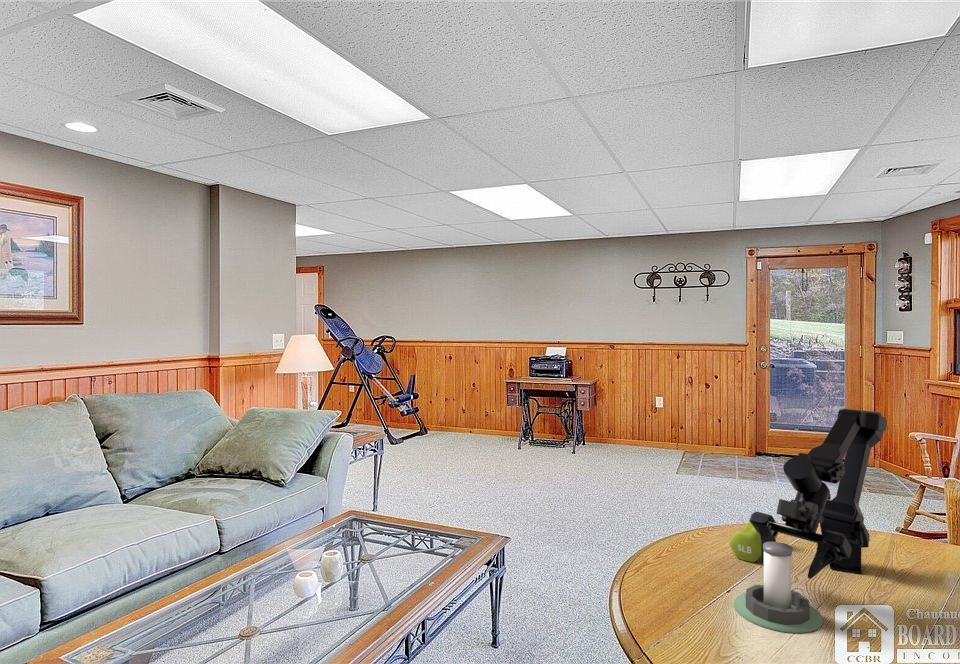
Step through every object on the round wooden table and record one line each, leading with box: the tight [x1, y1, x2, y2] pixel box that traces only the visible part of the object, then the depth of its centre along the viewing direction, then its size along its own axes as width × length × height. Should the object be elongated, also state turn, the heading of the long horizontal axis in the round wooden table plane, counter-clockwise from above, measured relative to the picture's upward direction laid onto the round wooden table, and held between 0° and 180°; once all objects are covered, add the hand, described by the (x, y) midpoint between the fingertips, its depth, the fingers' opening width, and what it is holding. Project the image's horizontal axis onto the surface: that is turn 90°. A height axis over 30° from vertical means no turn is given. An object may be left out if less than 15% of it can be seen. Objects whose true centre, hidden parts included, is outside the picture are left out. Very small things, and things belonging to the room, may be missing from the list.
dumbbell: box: [729, 520, 779, 563], centre depth 149 cm, size 16×8×7 cm, turn 139°
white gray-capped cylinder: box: [763, 541, 793, 609], centre depth 119 cm, size 5×5×13 cm
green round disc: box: [733, 584, 823, 634], centre depth 119 cm, size 16×16×3 cm
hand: (785, 570), depth 121 cm, fingers open, 9 cm apart
